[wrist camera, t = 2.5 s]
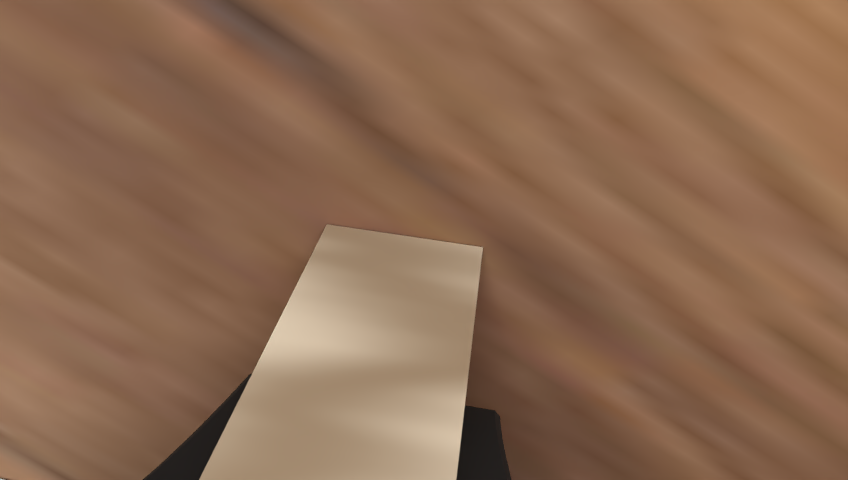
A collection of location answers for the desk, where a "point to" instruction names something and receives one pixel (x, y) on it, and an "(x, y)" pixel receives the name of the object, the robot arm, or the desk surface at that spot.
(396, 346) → the key block
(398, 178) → the desk surface
